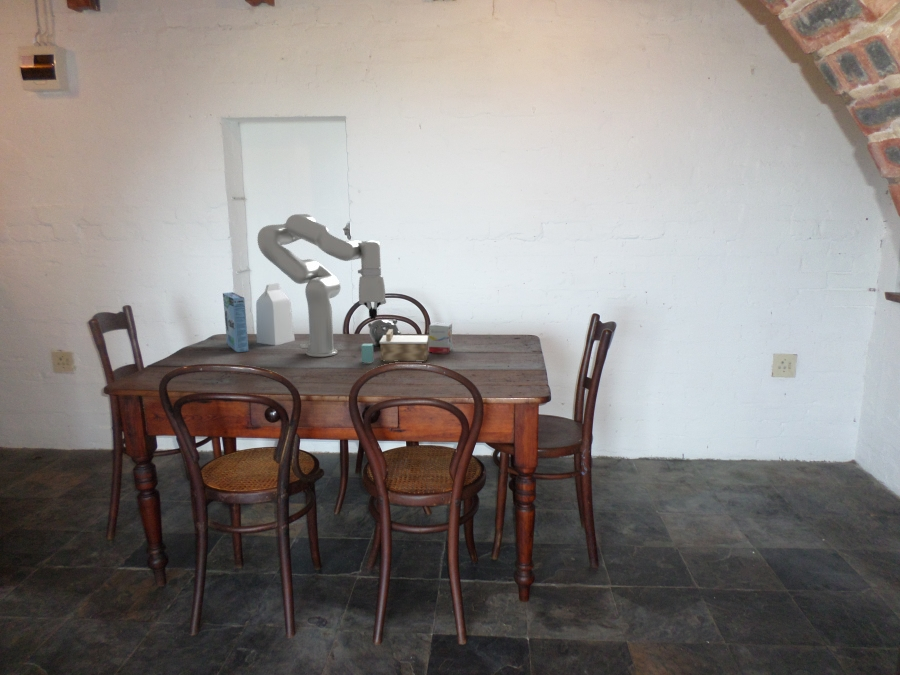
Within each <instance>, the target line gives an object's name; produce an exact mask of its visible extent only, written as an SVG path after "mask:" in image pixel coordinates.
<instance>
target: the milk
mask: <svg viewBox="0 0 900 675" xmlns="http://www.w3.org/2000/svg"><path fill="white" fill-rule="evenodd" d="M255 310H256V311H255V317H256V321H255V322H256V326H255V327H256V343H257V344H263V345H270V346H279V345H282V344H285V343H290V342H295V341H296V339H295V331H294V329H295V328H294V322H293V313H292V312H293V311H292V304H291V299H290V298H289V297H288V296H287V295H286V293H285V292H284V291H283V290H282V289H281V287H280V284H279V283H271V284H270V283H269V284H266V286H265V289H264V292H263V293H262V294H261V295H260V296H259V297H258V298H257V300H256V304H255Z"/></svg>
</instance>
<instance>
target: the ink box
mask: <svg viewBox="0 0 900 675" xmlns="http://www.w3.org/2000/svg"><path fill="white" fill-rule="evenodd" d="M428 336H429V338H428V353H429V352H432V353H431V354H434V353H435V354H449V353H450V352H451V351H452V349H453V347H452V346H453V342H452V341H453V323H452V322H439V321H437V322H436V321H434V322H432V323H430V324H429V325H428ZM450 350H451V351H450ZM449 351H450V352H449Z"/></svg>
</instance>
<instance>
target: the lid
mask: <svg viewBox="0 0 900 675" xmlns="http://www.w3.org/2000/svg"><path fill="white" fill-rule="evenodd" d="M427 341H428V342H429V335H415V334H414V335H413V334H412V335H410V334H409V335H408V334H407V335H403V334H401V335H393V329H389V330H388V332H387V334H386V335H383V337H382V339H381V340H380V344H427Z"/></svg>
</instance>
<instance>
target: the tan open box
mask: <svg viewBox="0 0 900 675" xmlns="http://www.w3.org/2000/svg"><path fill="white" fill-rule="evenodd" d="M379 346H380V361H381V360H385V361H384V362H400V361H416V360H424V361H416V362H417V363H419V362H421V363H422V362H423V363H424V362H425V363H427V361H426V360H428V355H429V340H428V341H427V344H380V345H379ZM394 360H398V361H394ZM400 363H401V362H400Z"/></svg>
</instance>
